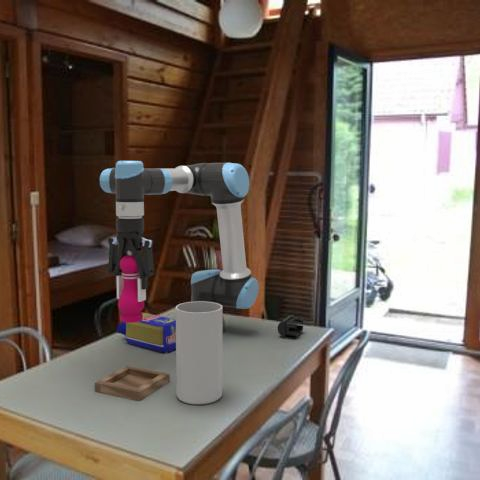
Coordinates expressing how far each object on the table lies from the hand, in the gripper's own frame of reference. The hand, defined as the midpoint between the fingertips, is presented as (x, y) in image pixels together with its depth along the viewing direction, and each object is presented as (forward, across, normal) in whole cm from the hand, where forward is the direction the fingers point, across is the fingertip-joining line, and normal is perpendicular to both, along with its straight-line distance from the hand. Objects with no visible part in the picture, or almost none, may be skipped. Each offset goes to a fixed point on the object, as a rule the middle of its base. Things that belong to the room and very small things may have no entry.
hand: (131, 299), depth 154 cm
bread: (+26, -17, +34) cm, 46 cm away
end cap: (+25, +24, +66) cm, 75 cm away
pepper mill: (+6, 0, 0) cm, 6 cm away
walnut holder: (+25, 0, 0) cm, 25 cm away
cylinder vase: (+26, +21, +2) cm, 33 cm away
